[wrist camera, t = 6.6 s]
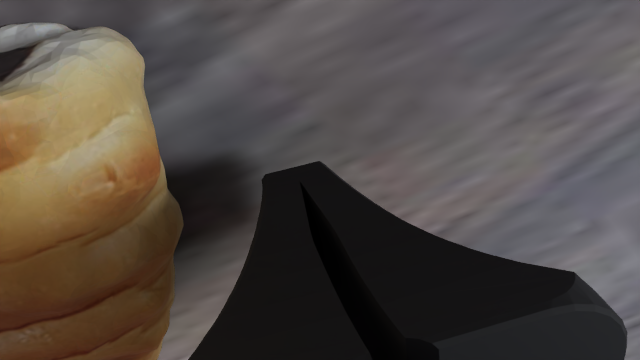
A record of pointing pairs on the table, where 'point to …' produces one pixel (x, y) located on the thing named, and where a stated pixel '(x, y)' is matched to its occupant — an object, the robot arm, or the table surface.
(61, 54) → the pastry
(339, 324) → the robot arm
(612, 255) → the table surface
